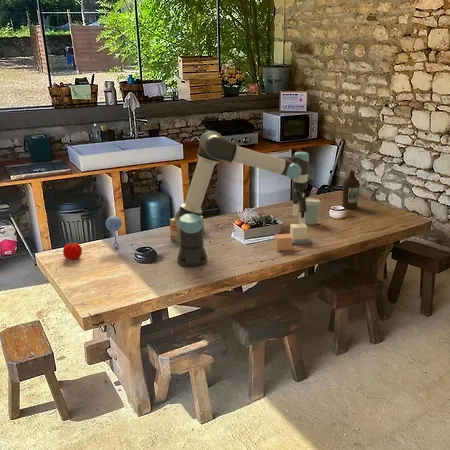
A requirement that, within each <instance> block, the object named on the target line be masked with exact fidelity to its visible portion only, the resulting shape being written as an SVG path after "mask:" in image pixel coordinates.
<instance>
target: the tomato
mask: <svg viewBox="0 0 450 450" xmlns="http://www.w3.org/2000/svg"><path fill="white" fill-rule="evenodd" d="M62 250H63V251H62V252H63V256H64V258H65V259H67V260H70V261H72V260H74V261H75V260H77V259H79V258H80V257H81V256H82V254H83V249H82V246H81V245H80V244H79V243H76V242H68V243H67V244H65V246H64V247H63V249H62Z"/></svg>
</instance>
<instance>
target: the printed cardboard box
mask: <svg viewBox="0 0 450 450" xmlns="http://www.w3.org/2000/svg"><path fill="white" fill-rule="evenodd" d="M201 218H202V221H203V232H205V227H204V226H205V225H204V223H205V221H204V216H203V215H201ZM169 231H170V232H169V233H170V240H172V241H175V242H178V243H180V235H179V231H178V228H177V226H176V224H175V217H172V218H170V219H169Z"/></svg>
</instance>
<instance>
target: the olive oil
mask: <svg viewBox="0 0 450 450" xmlns="http://www.w3.org/2000/svg"><path fill="white" fill-rule="evenodd" d="M355 172H356V171H355V169H349V175H348V176H347V177H346V179H345V180H343V183H342V208H343V207H345V208H344V209H347V210H354V209H357V208H358V200H359V193H360V187H361V186H360V185H361V184H360V181H359V179H358V178H357V177H356V176H355V174H356V173H355Z"/></svg>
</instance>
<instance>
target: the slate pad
mask: <svg viewBox="0 0 450 450" xmlns="http://www.w3.org/2000/svg"><path fill="white" fill-rule="evenodd" d="M310 244H313V240H312V239H311V238H310V236H309V235H308V234H307V239H300V240H292V246H294V245H310Z"/></svg>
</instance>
